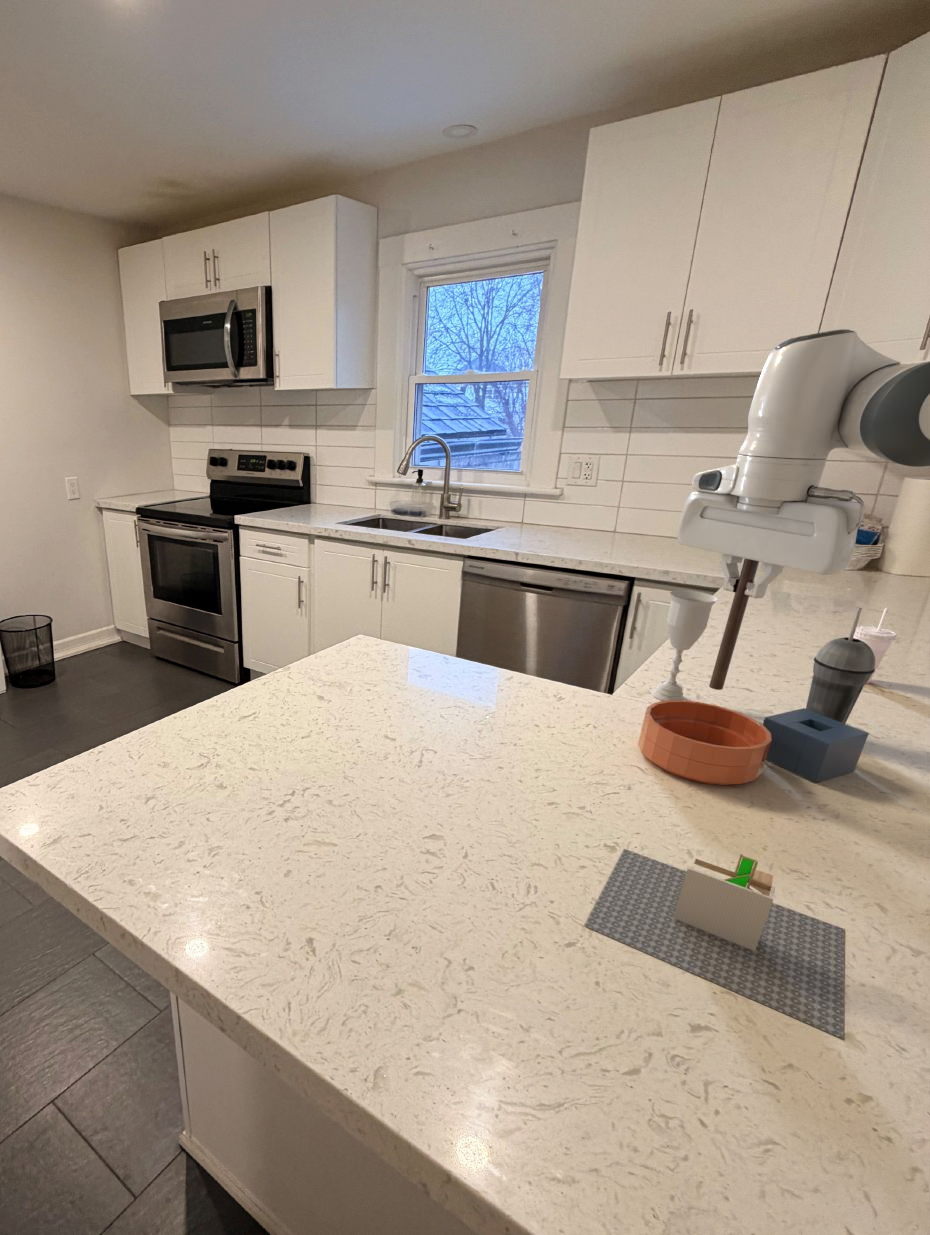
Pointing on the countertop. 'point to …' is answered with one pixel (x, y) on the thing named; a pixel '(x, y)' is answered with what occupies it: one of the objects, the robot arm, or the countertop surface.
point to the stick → (733, 625)
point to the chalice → (683, 633)
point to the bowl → (704, 742)
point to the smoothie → (876, 639)
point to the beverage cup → (840, 675)
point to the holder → (813, 744)
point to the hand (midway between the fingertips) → (742, 593)
